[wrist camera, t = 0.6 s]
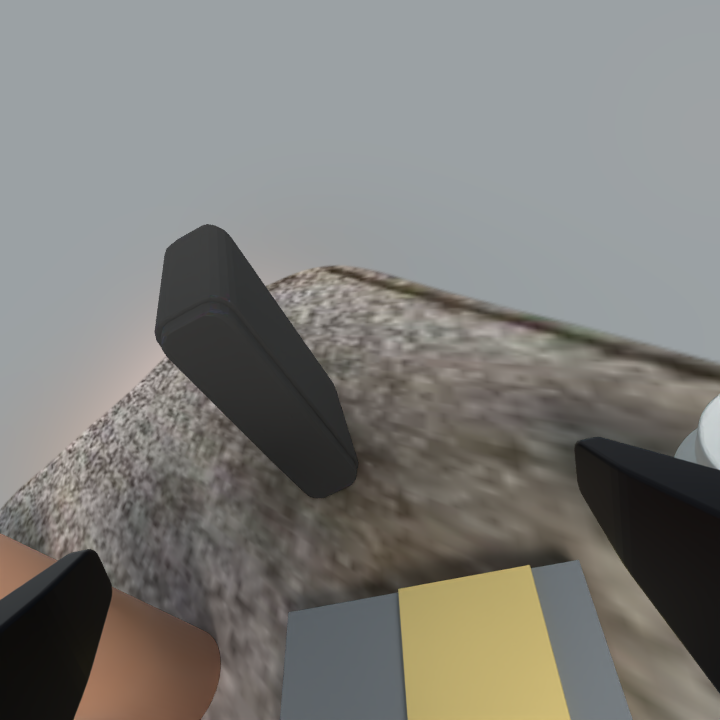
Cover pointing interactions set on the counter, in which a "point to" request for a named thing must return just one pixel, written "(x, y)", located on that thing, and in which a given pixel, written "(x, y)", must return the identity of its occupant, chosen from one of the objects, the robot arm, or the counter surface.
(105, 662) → the orange and grey cylinder
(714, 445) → the supplement bottle
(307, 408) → the card reader
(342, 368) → the counter surface
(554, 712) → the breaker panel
